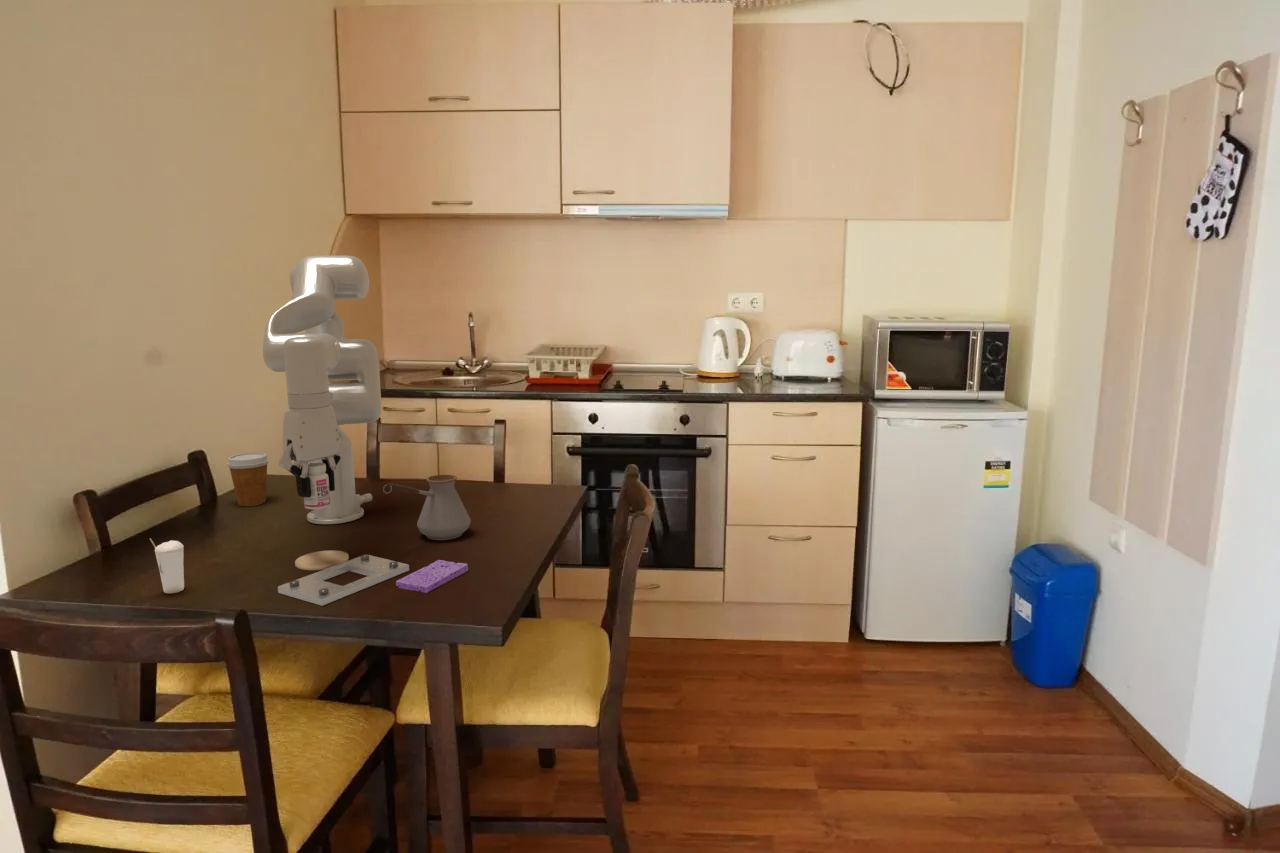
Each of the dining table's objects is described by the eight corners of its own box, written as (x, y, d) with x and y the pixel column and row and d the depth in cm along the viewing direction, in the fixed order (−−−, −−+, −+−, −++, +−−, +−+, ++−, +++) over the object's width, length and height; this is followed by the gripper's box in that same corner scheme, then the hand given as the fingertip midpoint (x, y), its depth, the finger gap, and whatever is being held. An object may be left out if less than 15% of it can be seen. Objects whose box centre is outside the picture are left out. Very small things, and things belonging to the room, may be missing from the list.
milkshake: (162, 586, 154) (156, 534, 152) (192, 585, 154) (186, 533, 152) (150, 595, 149) (143, 542, 147) (181, 594, 150) (175, 541, 148)
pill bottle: (321, 510, 161) (318, 468, 160) (299, 509, 162) (296, 467, 161) (335, 503, 166) (332, 462, 164) (313, 502, 167) (310, 461, 165)
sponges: (468, 573, 161) (468, 563, 160) (426, 596, 149) (426, 586, 149) (439, 568, 163) (438, 558, 163) (395, 590, 152) (395, 580, 152)
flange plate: (366, 560, 167) (365, 551, 166) (409, 570, 161) (408, 561, 160) (278, 592, 150) (277, 583, 150) (322, 605, 144) (321, 596, 144)
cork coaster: (326, 550, 173) (326, 547, 173) (359, 558, 168) (359, 555, 168) (284, 564, 164) (284, 561, 164) (317, 573, 159) (317, 570, 159)
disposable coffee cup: (259, 496, 216) (255, 450, 214) (280, 501, 210) (276, 455, 208) (223, 504, 208) (218, 457, 206) (244, 510, 203) (239, 462, 201)
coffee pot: (443, 524, 190) (440, 460, 188) (482, 531, 184) (479, 465, 182) (370, 551, 172) (365, 480, 170) (410, 560, 166) (406, 487, 164)
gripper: (332, 394, 169) (339, 481, 173) (257, 406, 155) (266, 500, 158) (357, 397, 166) (364, 486, 169) (282, 409, 151) (291, 506, 155)
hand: (316, 492), depth 164 cm, fingers closed on pill bottle, 4 cm apart
